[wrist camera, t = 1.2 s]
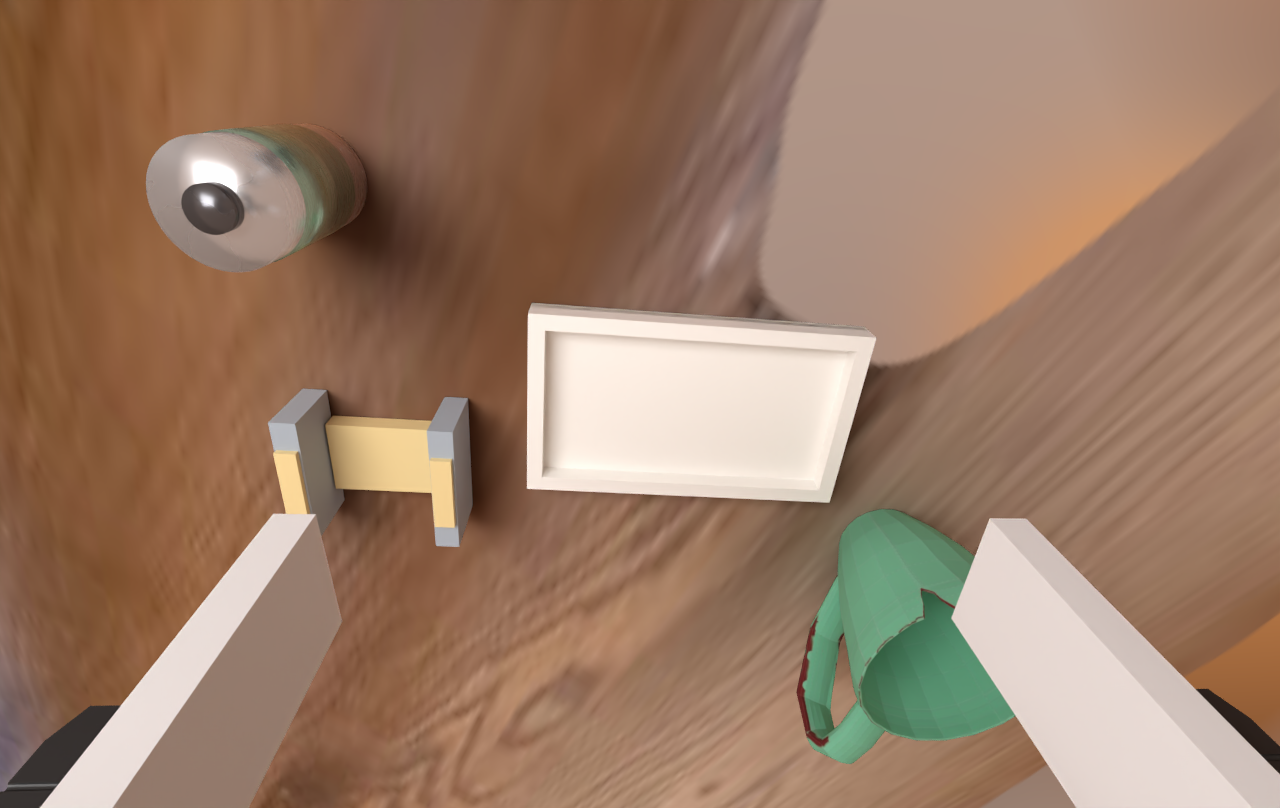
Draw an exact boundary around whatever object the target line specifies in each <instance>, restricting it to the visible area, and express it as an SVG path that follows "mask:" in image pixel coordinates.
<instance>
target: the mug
mask: <svg viewBox="0 0 1280 808" xmlns="http://www.w3.org/2000/svg"><path fill="white" fill-rule="evenodd" d="M974 558H975V556H973V555H972V554H971V553H970V552H969V551H967V550H966V549H965V548H964V547H963V546H961V545H959V544H958V543H956V542H955V541H953V540H951V539H950V538H948V537H947V536H945V535H944V534H942V533H940V532H939V531H937V530H936V529H934V528H933V527H931V526H929V525H927V524H925V523H923V522H921V521H919V520H917V519H915V518H913V517H911V516H909V515H907V514H905V513H903V512H900V511H897V510H894V509H879V510H875V511H871V512H867V513H865V514H863V515H861V516H859V517H857V518H856V519H855V520H854V521H852V522H851V523H850V524H849V525H848V526H847V527H846V529H845V530H844V532H843V533H842V535H841V539H840V542H839V556H838V575H837V577H836V579H835V581H834V583H833V584H832V586H831V588H830V590H829V592H828V594H827V596H826V598H825V600H824V602H823V604H822V605H821V607H820V609H819V611H818V613H817V615H816V617H815V619H814V621H813V623H812V625H811V626H810V631H809V636H808V641H807V645H806V650H805V655H804V659H803V664H802V669H801V674H800V678H799V683H798V688H797V696H798V701H799V705H800V710H801V714H802V718H803V723H804V727H805V731H806V736H807V739H808V741H809V743H810V745H811V746H812V748H813V749H814V750H816V751H818V752H820V753H822V754H824V755H826V756H828V757H830V758H833V759H835V760H837V761H839V762H841V763H846V764H852V763H854V762H855V761H856V760H857V759H859V758H860V757H861V756H862V755H863V754H865V753H866V752H867V751H868V750H869V749H871V748H872V747H873V746H874V744H875V743H876V742H877V740H878V739H879V738H880V737H881V735H882V734H883V733H884V731H886V732H888V733H890V734H892V735H896V736H900V737H905V738H909V739H913V740H950V739H955V738H960V737H965V736H970V735H975V734H978V733H980V732H983V731H985V730H988V729H990V728H993V727H996V726H998V725H1001V724H1003V723H1005V722H1006V721H1008V720H1010V719H1011V718H1013V717H1015V714H1014V713H1013V711H1012V709H1011V708H1010V706H1009V705H1008V703H1007V702H1006V700H1005V699H1004V697H1003V696H1002V694H1001V693H1000V691H999V690H998V688H997V687H996V685H995V684H994V682H993V681H992V679H991V678H990V676H989V675H988V673H987V672H986V670H985V669H984V667H983V666H982V664H981V663H980V661H979V659H978V658H977V656H976V655H975V653H974V652H973V650H972V649H971V647H970V646H969V644H968V643H967V641H966V640H965V638H964V637H963V635H962V634H961V632H960V631H959V629H958V628H957V626H956V625H955V623H954V622H953V620H952V619H951V618H952V615H953V613H954V610H955V607H956V605H957V602H958V600H959V597H960V594H961V592H962V589H963V587H964V584H965V581H966V579H967V576H968V574H969V571H970V568H971V566H972V563H973V561H974ZM843 635H845V640H846V645H847V651H848V658H849V664H850V670H851V677H852V682H853V688H854V691H855V695H856V697H857V702H856V703H855V704H854V706H853V707H852V708H851V710H850V711H849V713H848V714H847V715H846V717H845V718H844V719H843V721H842V722H841V724H839V725H838V726H837V727H836V728H834V725H833V721H832V716H831V711H830V709H831V698H832V691H833V685H834V678H835V672H836V665H837V659H838V652H839V646H840V641H841V639H842V637H843Z"/></svg>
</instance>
